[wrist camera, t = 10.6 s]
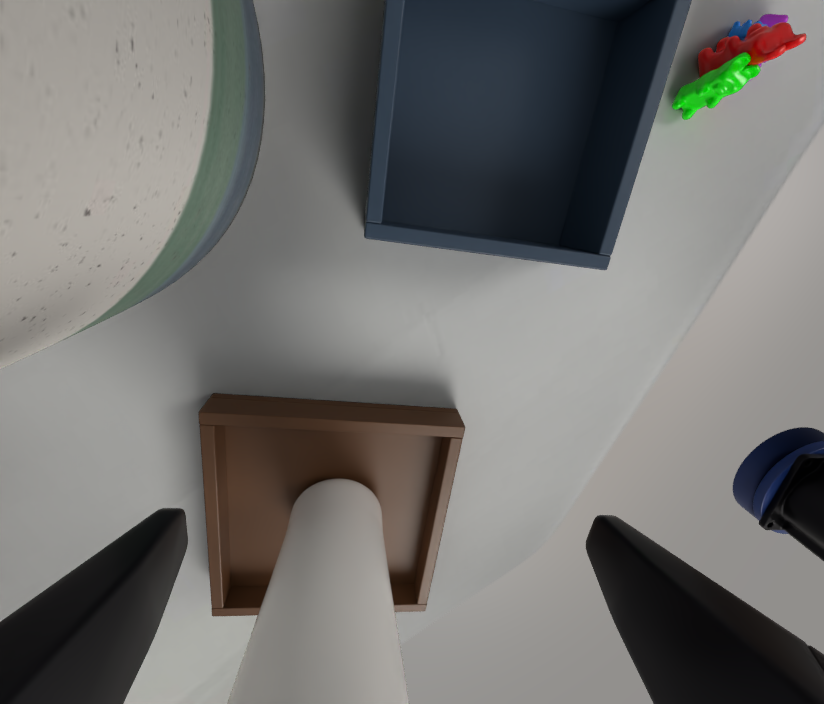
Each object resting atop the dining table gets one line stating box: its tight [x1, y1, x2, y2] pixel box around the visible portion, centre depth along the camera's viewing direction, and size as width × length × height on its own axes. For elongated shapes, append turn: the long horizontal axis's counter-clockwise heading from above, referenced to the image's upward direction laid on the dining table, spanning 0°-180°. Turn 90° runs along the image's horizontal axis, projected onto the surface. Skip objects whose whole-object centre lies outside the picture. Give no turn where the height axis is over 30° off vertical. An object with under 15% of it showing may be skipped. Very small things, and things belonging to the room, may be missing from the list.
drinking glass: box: [227, 478, 410, 704], centre depth 16 cm, size 7×7×15 cm
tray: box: [199, 393, 465, 616], centre depth 23 cm, size 14×13×2 cm
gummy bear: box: [672, 14, 806, 120], centre depth 16 cm, size 5×3×4 cm, turn 117°
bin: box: [364, 0, 692, 270], centre depth 15 cm, size 10×10×4 cm
